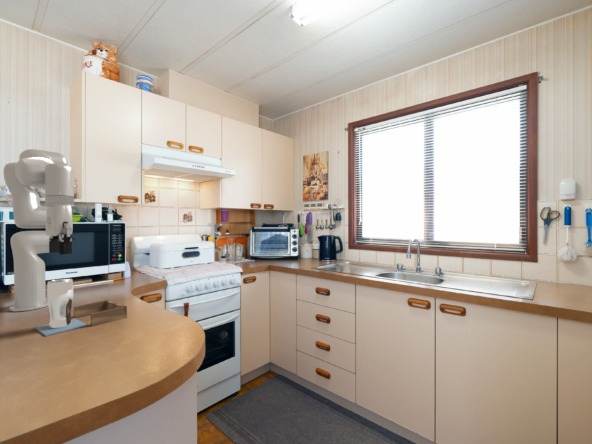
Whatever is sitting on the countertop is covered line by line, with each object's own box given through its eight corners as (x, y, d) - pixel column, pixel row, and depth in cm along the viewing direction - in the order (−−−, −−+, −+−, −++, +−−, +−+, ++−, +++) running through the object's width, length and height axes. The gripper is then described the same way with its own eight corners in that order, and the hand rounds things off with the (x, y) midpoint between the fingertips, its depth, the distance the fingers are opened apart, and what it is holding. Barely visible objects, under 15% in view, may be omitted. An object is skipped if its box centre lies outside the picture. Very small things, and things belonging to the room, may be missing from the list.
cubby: (74, 317, 106) (73, 306, 106) (107, 310, 115) (107, 300, 115) (92, 326, 96) (91, 314, 96) (126, 317, 105) (126, 306, 105)
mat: (34, 328, 95) (34, 327, 95) (74, 319, 104) (74, 318, 104) (45, 336, 88) (45, 335, 88) (87, 325, 97) (87, 324, 97)
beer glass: (78, 323, 98) (77, 279, 98) (54, 330, 92) (53, 283, 92) (66, 320, 101) (66, 277, 101) (42, 327, 95) (42, 281, 95)
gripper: (37, 202, 98) (37, 252, 98) (54, 200, 88) (54, 256, 88) (64, 203, 104) (64, 250, 104) (83, 201, 94) (83, 253, 94)
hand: (60, 253), depth 96 cm, fingers open, 9 cm apart
